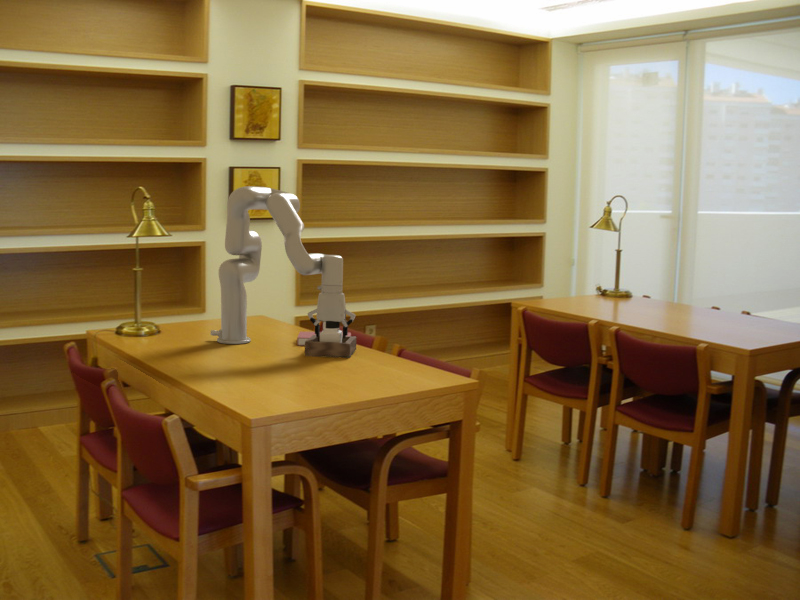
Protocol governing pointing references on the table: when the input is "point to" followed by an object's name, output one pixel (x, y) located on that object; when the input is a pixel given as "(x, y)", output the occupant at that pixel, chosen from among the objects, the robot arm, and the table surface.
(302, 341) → the pink flat slab
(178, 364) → the table surface
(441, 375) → the table surface
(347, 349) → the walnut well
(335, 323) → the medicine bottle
